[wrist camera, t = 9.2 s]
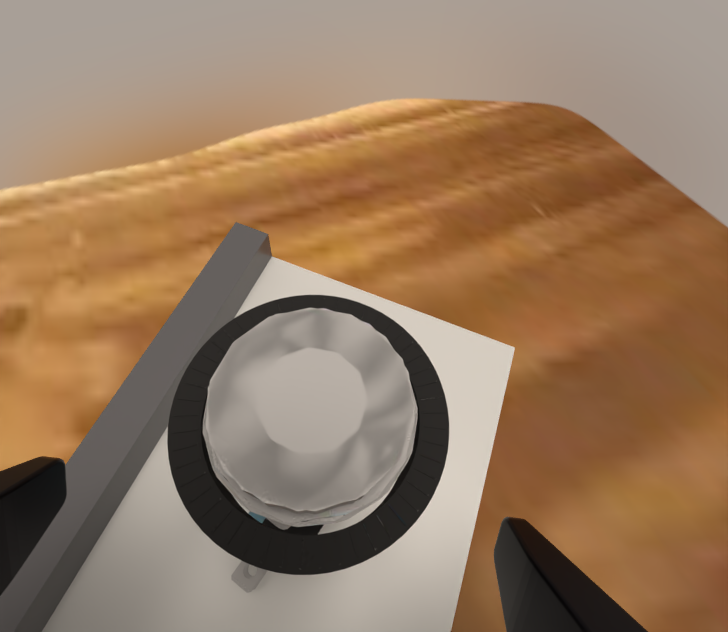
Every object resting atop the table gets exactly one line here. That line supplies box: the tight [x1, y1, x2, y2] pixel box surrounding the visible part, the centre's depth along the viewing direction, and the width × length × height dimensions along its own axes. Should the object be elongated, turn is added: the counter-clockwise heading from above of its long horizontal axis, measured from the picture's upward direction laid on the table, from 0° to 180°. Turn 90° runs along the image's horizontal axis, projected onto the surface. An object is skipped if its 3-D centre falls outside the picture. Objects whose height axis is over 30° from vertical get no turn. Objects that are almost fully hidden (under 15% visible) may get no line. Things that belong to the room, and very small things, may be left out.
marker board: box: [0, 222, 515, 632], centre depth 16 cm, size 18×14×2 cm
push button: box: [167, 295, 449, 593], centre depth 11 cm, size 7×5×10 cm
